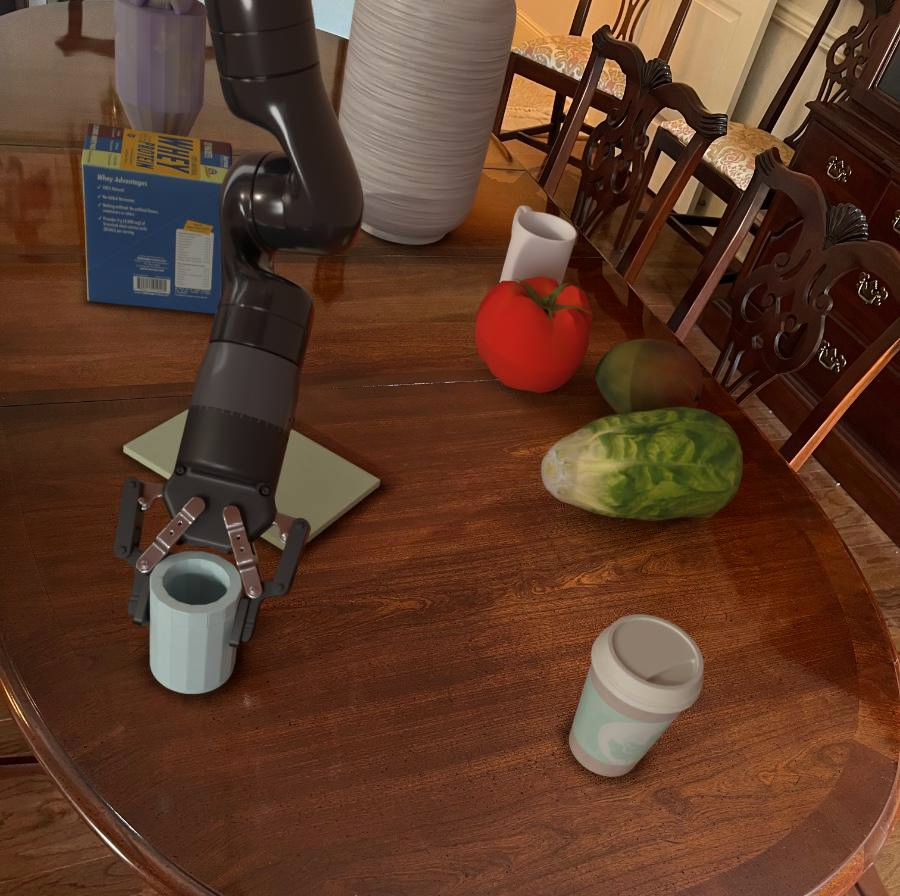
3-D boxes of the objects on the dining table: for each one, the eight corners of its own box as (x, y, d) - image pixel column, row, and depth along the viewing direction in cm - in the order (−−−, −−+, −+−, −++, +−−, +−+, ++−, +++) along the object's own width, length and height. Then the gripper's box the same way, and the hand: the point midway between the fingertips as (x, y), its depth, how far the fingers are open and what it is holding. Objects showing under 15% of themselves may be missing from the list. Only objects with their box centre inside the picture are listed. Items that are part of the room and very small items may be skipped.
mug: (562, 317, 130) (586, 243, 123) (508, 316, 127) (530, 239, 120) (529, 271, 138) (550, 198, 131) (477, 268, 135) (496, 193, 128)
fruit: (664, 463, 111) (698, 389, 104) (566, 415, 114) (593, 339, 107) (695, 420, 119) (729, 348, 112) (603, 376, 122) (631, 303, 115)
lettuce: (511, 476, 103) (541, 386, 96) (677, 469, 111) (717, 385, 103) (553, 552, 96) (589, 460, 88) (727, 539, 104) (774, 453, 96)
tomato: (494, 412, 111) (521, 320, 103) (448, 343, 120) (470, 252, 111) (594, 407, 116) (627, 319, 108) (543, 341, 125) (570, 254, 117)
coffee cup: (558, 786, 76) (608, 689, 68) (547, 700, 82) (592, 601, 74) (662, 796, 78) (723, 703, 70) (643, 711, 84) (698, 615, 76)
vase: (360, 175, 148) (400, -87, 125) (484, 221, 146) (548, -36, 123) (302, 220, 134) (335, -66, 111) (439, 272, 132) (501, -8, 109)
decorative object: (155, 226, 124) (156, -47, 103) (101, 192, 127) (91, -79, 107) (216, 209, 131) (229, -51, 110) (163, 176, 134) (165, -81, 113)
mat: (123, 452, 93) (123, 445, 92) (222, 395, 102) (223, 389, 102) (291, 555, 88) (292, 549, 87) (379, 486, 98) (380, 479, 97)
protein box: (92, 256, 116) (86, 121, 105) (226, 271, 120) (233, 142, 109) (85, 302, 109) (79, 162, 98) (228, 316, 113) (236, 183, 102)
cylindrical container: (131, 664, 76) (130, 582, 70) (189, 619, 80) (193, 538, 74) (195, 708, 74) (200, 627, 68) (251, 660, 79) (259, 580, 72)
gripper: (132, 382, 69) (75, 614, 69) (333, 431, 70) (278, 661, 69) (156, 404, 76) (105, 613, 76) (338, 448, 77) (288, 655, 77)
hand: (188, 635), depth 73 cm, fingers closed on cylindrical container, 6 cm apart
